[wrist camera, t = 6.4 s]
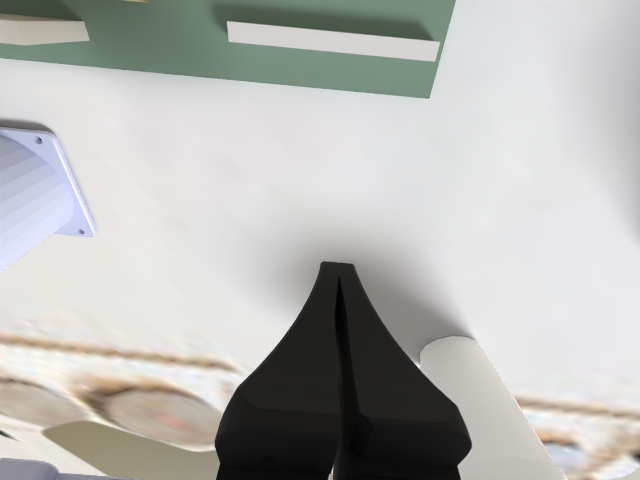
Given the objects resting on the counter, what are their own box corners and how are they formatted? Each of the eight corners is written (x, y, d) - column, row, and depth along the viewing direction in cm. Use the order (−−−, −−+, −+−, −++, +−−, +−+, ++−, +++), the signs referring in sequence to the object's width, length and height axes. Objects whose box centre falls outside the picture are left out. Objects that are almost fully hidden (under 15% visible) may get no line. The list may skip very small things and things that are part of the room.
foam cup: (416, 385, 35) (451, 541, 25) (392, 339, 30) (423, 509, 20) (504, 368, 32) (585, 535, 22) (493, 316, 28) (590, 497, 17)
